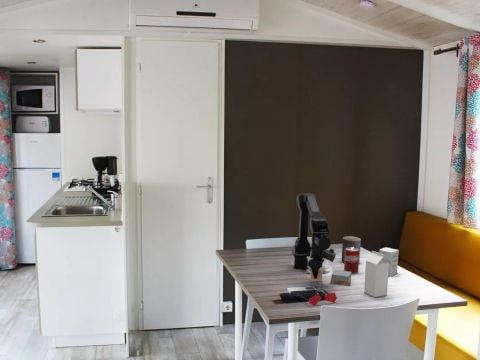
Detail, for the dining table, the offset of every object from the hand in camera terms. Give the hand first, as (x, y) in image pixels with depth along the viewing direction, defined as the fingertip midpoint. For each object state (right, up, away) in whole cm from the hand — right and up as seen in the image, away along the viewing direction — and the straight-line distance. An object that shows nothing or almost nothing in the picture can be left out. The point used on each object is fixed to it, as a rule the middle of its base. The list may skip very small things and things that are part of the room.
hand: (316, 276), depth 234 cm
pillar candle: (+25, 0, +38) cm, 45 cm away
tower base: (+13, -4, +6) cm, 14 cm away
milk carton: (+25, -6, -10) cm, 28 cm away
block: (0, -1, 0) cm, 1 cm away
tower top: (+13, -2, +5) cm, 14 cm away
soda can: (+21, -2, +22) cm, 30 cm away
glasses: (-4, -7, -17) cm, 19 cm away
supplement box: (+39, -3, +20) cm, 44 cm away
